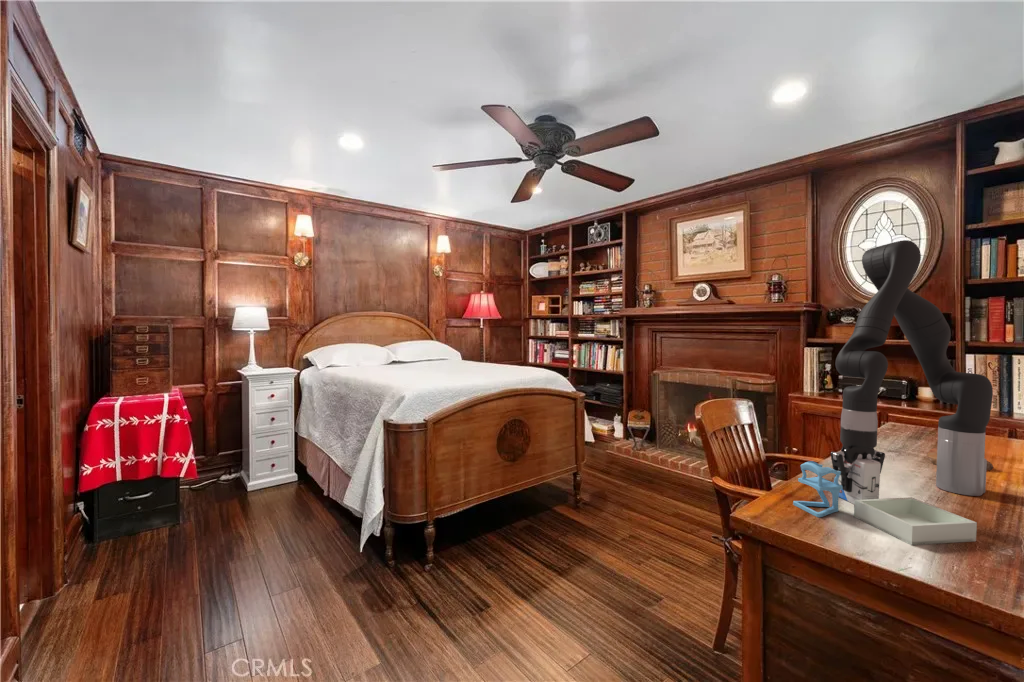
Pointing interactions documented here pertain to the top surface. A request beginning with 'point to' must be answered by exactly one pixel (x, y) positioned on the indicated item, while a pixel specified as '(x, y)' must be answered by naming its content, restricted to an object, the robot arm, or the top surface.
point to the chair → (820, 488)
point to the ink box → (863, 481)
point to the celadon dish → (915, 521)
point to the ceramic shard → (933, 458)
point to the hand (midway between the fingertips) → (856, 490)
